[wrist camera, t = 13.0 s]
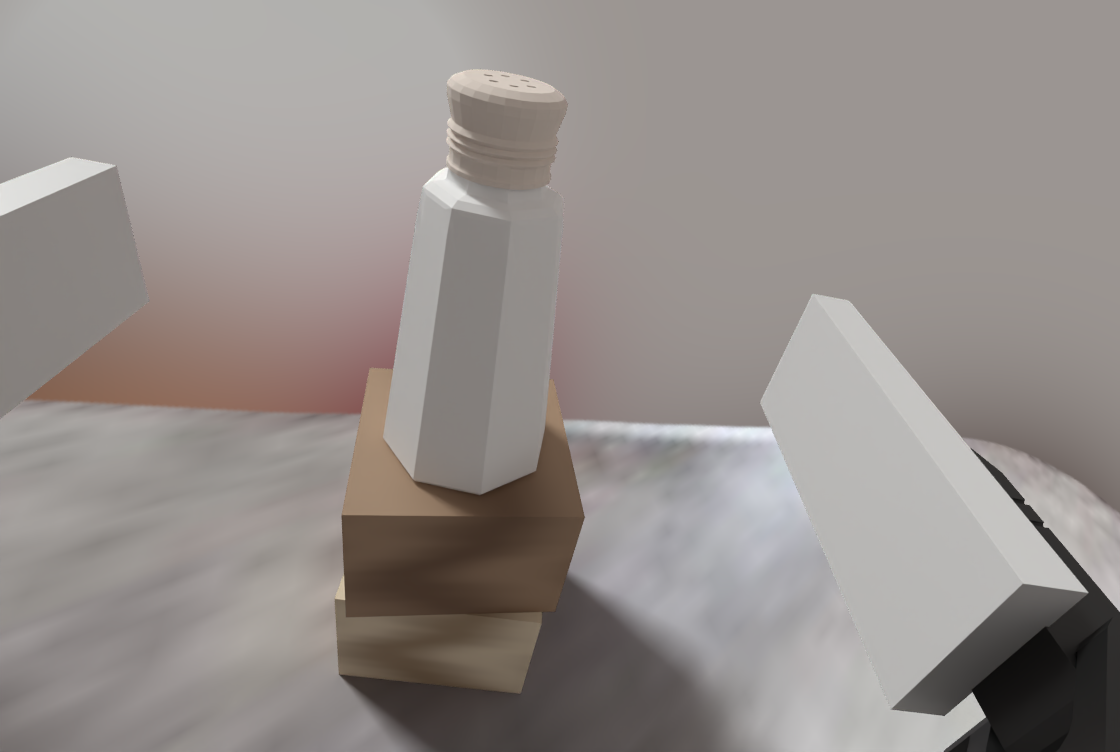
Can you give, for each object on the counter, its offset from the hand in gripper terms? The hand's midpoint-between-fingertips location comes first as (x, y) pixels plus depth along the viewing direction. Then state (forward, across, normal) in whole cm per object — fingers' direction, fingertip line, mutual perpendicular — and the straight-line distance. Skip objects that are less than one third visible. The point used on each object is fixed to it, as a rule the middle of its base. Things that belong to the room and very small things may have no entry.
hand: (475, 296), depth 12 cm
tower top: (+5, 0, -13) cm, 14 cm away
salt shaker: (+4, 0, -8) cm, 9 cm away
